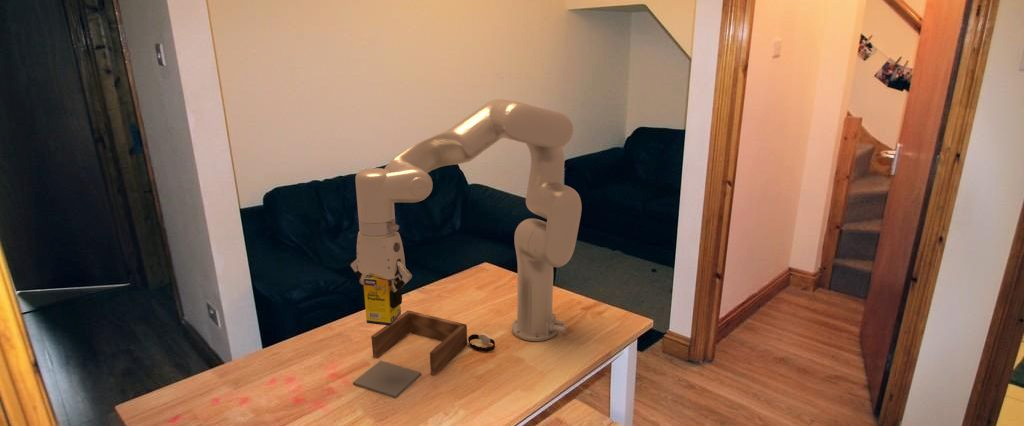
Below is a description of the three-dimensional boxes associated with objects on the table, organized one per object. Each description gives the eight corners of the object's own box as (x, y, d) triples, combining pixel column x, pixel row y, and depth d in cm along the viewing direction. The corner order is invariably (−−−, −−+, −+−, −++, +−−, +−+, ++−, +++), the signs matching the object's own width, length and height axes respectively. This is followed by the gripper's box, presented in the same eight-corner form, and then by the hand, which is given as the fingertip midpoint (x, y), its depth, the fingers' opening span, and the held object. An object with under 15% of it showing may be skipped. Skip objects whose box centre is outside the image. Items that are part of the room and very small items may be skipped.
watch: (498, 347, 139) (498, 334, 138) (489, 356, 135) (489, 343, 134) (473, 339, 142) (473, 327, 141) (464, 348, 138) (463, 335, 137)
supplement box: (391, 326, 117) (387, 280, 114) (365, 323, 118) (362, 278, 115) (402, 314, 123) (399, 270, 120) (377, 311, 124) (374, 267, 121)
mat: (421, 374, 127) (421, 372, 127) (395, 398, 118) (395, 396, 118) (380, 362, 132) (380, 360, 131) (353, 384, 123) (352, 382, 123)
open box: (467, 345, 139) (466, 324, 138) (435, 375, 126) (434, 353, 125) (409, 329, 147) (407, 310, 145) (373, 357, 134) (371, 336, 132)
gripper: (421, 227, 114) (424, 303, 119) (357, 216, 121) (363, 288, 126) (399, 238, 107) (404, 317, 113) (333, 225, 115) (341, 301, 120)
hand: (382, 301), depth 119 cm, fingers closed on supplement box, 6 cm apart
